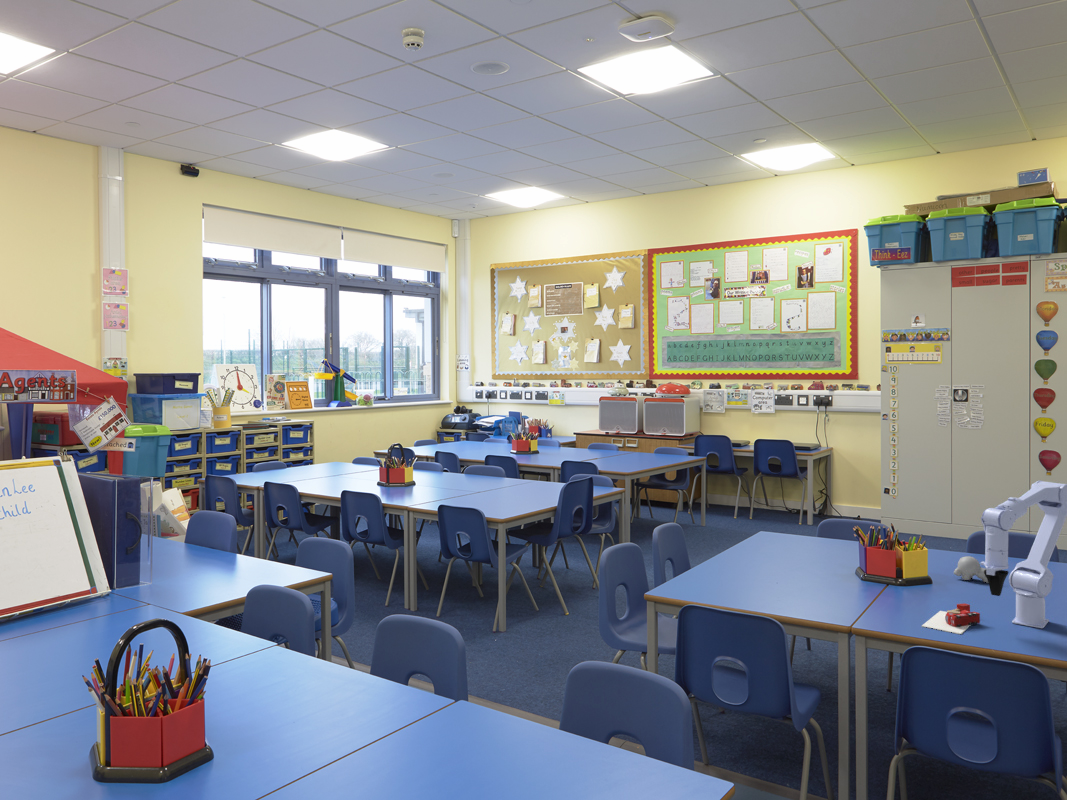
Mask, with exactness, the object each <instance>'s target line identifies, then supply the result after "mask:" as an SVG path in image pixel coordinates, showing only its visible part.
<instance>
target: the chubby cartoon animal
mask: <svg viewBox="0 0 1067 800" xmlns="http://www.w3.org/2000/svg"><path fill="white" fill-rule="evenodd" d="M984 570H986V567H981V563H980V562H979V560H978V559H976V558H975V557H973V556H962V557H960V558H959V560H958V562H957V567H956V568H955V569H954V570H953V574H954V575H955V576H958V577H961V578H962V580H963V581H965V580H969V581H970V580H972V579H973V578H974V576H976V577H977V578H978V579H980V580H982V582H983V583H985V582H986V583H985V584H989V583H988V580H987V578H986V576H985V574H984ZM971 578H972V579H971Z"/></svg>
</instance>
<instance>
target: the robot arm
mask: <svg viewBox="0 0 1067 800" xmlns="http://www.w3.org/2000/svg"><path fill="white" fill-rule="evenodd" d="M1034 505H1037V507H1038V508H1039V510H1041V511H1042V512H1044V517H1043V519H1042V521H1041V523H1040V526H1039V528H1038V531H1037V534H1036V536H1035V539H1034V541H1033V544H1032V546H1031V548H1030V551H1029V553H1028V556H1027V558H1026V559H1025V560H1023V561H1020V562H1018V563H1016V565H1015V567H1014V569H1013V570H1011V572H1009V571H1008V569H1009V530H1011V529H1012V527H1013V526H1014V523H1016V521H1017V520H1018V519H1020V518H1021V517H1023V516H1025V515H1026V514H1027V512H1028V508H1030V507H1033V506H1034ZM1066 520H1067V483H1059V482H1051V481H1044V480H1041V479H1040V480H1037V481H1035V482H1034V483H1032V484H1031V486H1030V489H1029V490H1027V491H1026V492H1025V493H1023V495H1021V496H1020V497H1012V496H1010V497H1008V498H1007V500H1006V501H1004V502H1002V503H1000V504H997V506H996V507H989V508H986V509H985V510H984V511H983V512H982V514H981V517H980V521H981V524H982V525H983V531H984V533H985V543H984V544H985V545H984V546H985V548H984V549H985V550H984V551H985V552H984V555H985V559H984V560H985V561H984V560H983V561H981V562H980V566H984V568H986V570H984V574H985V576H986V578H987V580H988V583H987V584H988V587H989V590H990V594H991V596H997V597H1000V596H1001V595H1002V592H1003V587H1004V583H1005V581H1006V578H1007V576H1008V582H1009V583H1008V584H1009V585H1010V587H1011V588H1012V589H1013V592H1014V593H1015V617H1014V618H1013V619H1012V621H1011V623H1012V624H1016V625H1021V626H1027V627H1032V628H1033V627H1034V628H1036V629H1044V628H1045V627H1046V625H1047V624H1048V623H1049V622H1050V621H1049V619H1047V618H1046V599H1045V597H1048V595H1049V594H1050V593H1051V591H1052V589H1053V579H1054V574H1053V572H1052V571H1051V570H1050V569H1049V568H1048V565H1049V562H1050V559H1051V557H1052V555H1053V552H1054V550H1055V547H1056V545H1057V543H1058V540H1059V537H1060V534H1061V533H1062V532H1061V531H1062V530H1063V527H1064V524H1065V523H1066Z"/></svg>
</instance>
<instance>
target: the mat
mask: <svg viewBox="0 0 1067 800" xmlns="http://www.w3.org/2000/svg"><path fill="white" fill-rule="evenodd" d="M946 614H947V611H943V610H939V611H938V612H937V613H936V614H934V615H933V616H932V617H930V618H929V619H928V620H927V621H925V622H924V623H923V624H922V625H921V628H926V627H927V629H931V628H933V629H932V630H936V629H937V630H936V631H941V630H942V631H941V632H946V633H951V632H952V634H957V635H960V634H961V635H962V634H963V633H965V631H967V629H969V626H970V627H971V626H972V625H965V626H961V627H954V626H952V625H949V624H947V623H946V620H945V616H946Z"/></svg>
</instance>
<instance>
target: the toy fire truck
mask: <svg viewBox="0 0 1067 800" xmlns="http://www.w3.org/2000/svg"><path fill="white" fill-rule="evenodd" d="M946 612H947V614H946V616H945V620H946V623H947V624H949V625H952V626H954V627H961V626H965V625H971V626H973V625H977V624H980V623H981V613H979V612H976V611H971V605H970V604H969V603H964V602H963V603H957V604H956V608H954V609H951V610H946Z"/></svg>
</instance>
